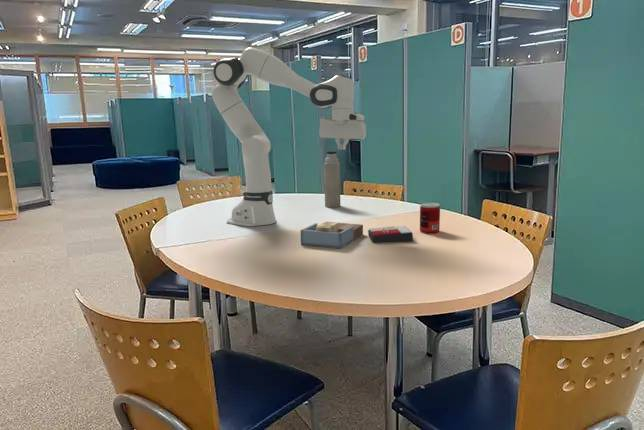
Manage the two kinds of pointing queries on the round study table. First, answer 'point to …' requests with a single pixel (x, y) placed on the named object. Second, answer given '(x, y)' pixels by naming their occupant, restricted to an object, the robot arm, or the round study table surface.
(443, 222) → the round study table surface
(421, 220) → the canned food
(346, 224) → the walnut plate
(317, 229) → the oak block
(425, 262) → the round study table surface
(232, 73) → the robot arm
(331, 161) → the thermos bottle
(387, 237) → the calculator
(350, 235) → the tray
